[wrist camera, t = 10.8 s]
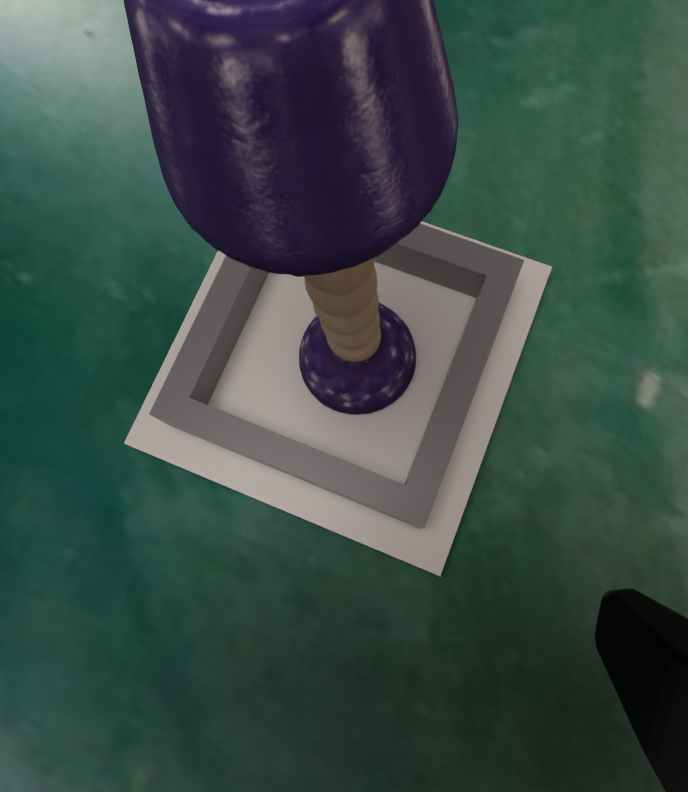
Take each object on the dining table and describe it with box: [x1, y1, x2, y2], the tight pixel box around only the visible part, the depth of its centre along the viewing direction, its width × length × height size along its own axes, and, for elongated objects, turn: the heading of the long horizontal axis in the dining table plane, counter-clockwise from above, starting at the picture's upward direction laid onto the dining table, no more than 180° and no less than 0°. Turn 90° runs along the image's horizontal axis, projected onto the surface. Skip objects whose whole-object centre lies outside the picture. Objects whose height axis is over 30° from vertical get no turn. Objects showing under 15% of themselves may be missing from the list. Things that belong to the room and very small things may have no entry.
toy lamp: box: [124, 0, 458, 415], centre depth 14 cm, size 5×5×17 cm
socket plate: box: [124, 221, 552, 576], centre depth 22 cm, size 12×12×3 cm
